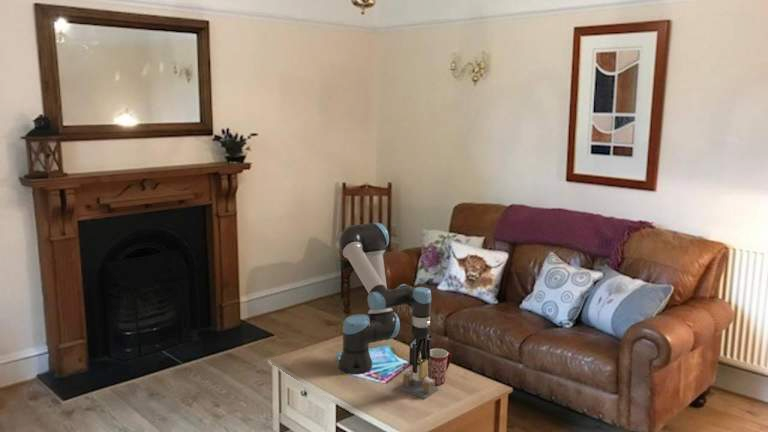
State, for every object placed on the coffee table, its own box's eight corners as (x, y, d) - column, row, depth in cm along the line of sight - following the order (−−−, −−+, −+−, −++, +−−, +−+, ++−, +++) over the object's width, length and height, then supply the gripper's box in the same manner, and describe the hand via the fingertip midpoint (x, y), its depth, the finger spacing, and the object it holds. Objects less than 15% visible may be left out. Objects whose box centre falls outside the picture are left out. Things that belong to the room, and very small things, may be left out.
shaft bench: (399, 389, 269) (399, 374, 268) (412, 381, 277) (413, 366, 276) (424, 399, 262) (425, 383, 260) (438, 390, 269) (438, 375, 268)
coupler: (411, 378, 268) (412, 359, 266) (417, 374, 271) (418, 356, 269) (421, 381, 265) (421, 362, 263) (427, 377, 268) (428, 359, 266)
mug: (436, 388, 271) (437, 359, 268) (421, 380, 278) (422, 351, 275) (457, 380, 279) (458, 351, 276) (442, 372, 286) (443, 344, 283)
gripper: (416, 333, 254) (414, 387, 259) (440, 321, 268) (438, 372, 273) (401, 328, 259) (399, 381, 263) (425, 316, 272) (423, 367, 277)
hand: (419, 376), depth 268 cm, fingers closed on coupler, 4 cm apart
